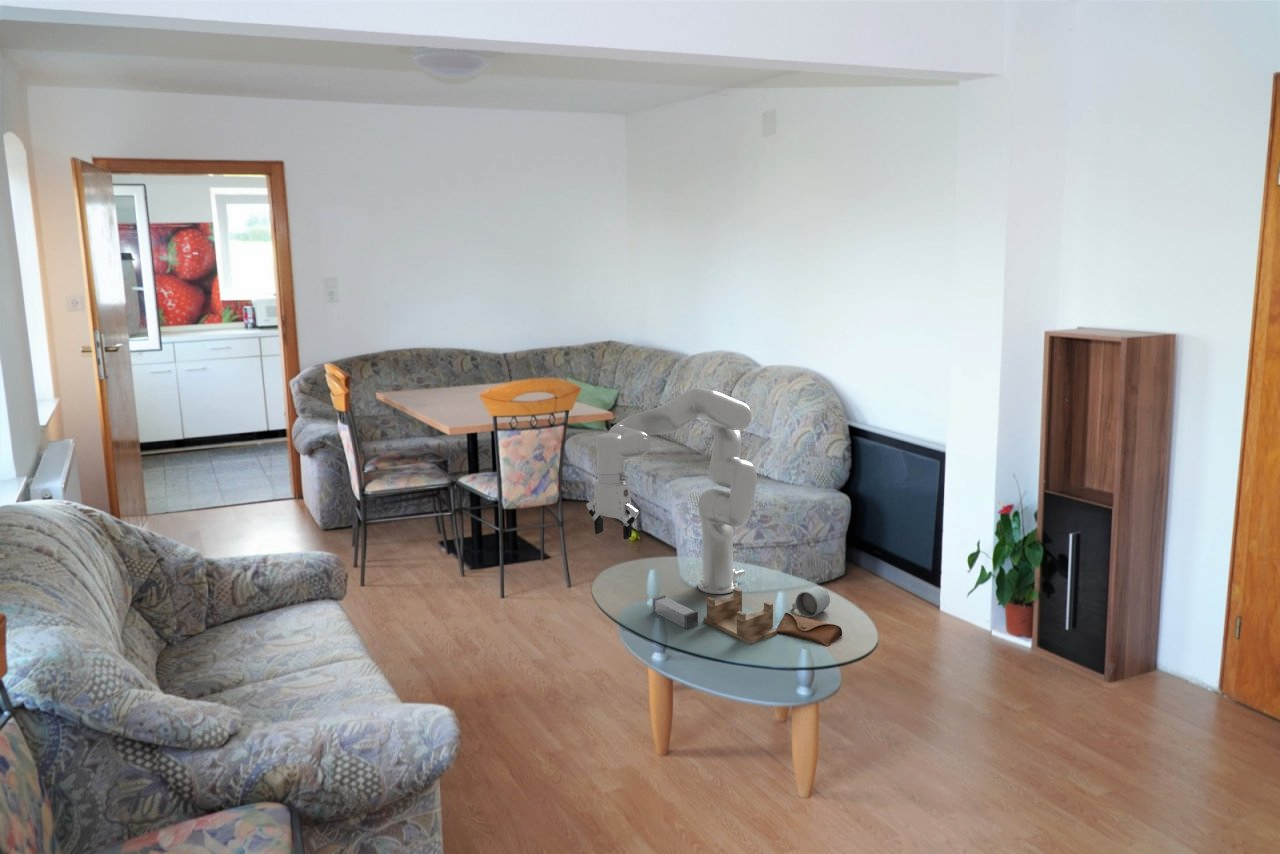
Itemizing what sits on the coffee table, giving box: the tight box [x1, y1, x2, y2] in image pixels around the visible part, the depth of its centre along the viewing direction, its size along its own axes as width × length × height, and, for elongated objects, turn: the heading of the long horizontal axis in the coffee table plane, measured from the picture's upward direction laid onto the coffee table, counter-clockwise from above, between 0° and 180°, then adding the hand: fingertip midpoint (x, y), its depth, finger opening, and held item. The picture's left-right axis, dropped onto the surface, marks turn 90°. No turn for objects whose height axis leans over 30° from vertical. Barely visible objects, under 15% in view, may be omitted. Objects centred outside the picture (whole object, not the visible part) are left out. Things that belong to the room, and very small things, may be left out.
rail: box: [652, 595, 699, 630], centre depth 298 cm, size 4×16×4 cm, turn 36°
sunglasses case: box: [775, 612, 843, 647], centre depth 286 cm, size 18×7×7 cm, turn 55°
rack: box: [703, 587, 778, 645], centre depth 290 cm, size 11×20×8 cm, turn 36°
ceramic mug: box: [791, 586, 831, 618], centre depth 300 cm, size 11×8×8 cm
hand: (613, 535), depth 290 cm, fingers open, 9 cm apart
